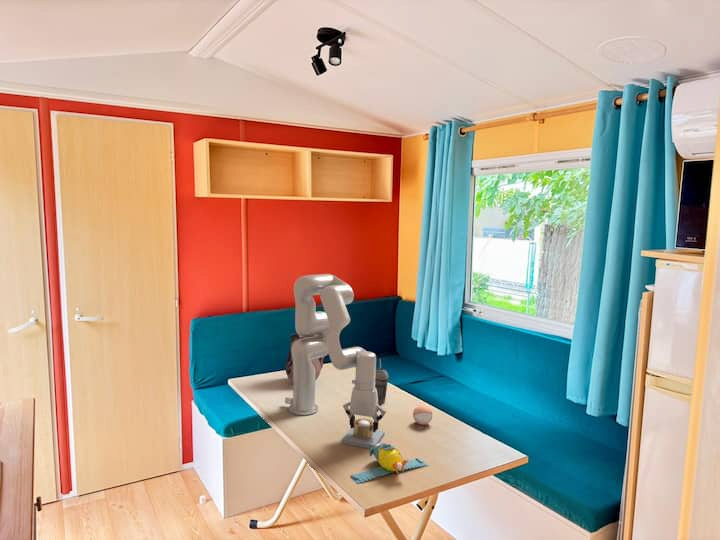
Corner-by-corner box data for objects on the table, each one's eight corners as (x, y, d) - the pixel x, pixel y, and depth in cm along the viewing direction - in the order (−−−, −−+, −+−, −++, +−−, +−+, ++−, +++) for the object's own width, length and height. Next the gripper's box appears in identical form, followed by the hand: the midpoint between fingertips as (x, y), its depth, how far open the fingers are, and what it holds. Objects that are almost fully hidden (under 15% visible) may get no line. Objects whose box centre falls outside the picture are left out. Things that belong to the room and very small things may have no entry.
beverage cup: (376, 406, 224) (378, 362, 222) (369, 400, 230) (370, 358, 228) (390, 403, 227) (392, 361, 225) (382, 398, 234) (384, 356, 231)
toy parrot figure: (363, 464, 155) (341, 444, 168) (362, 490, 155) (341, 469, 169) (436, 446, 168) (410, 430, 181) (435, 471, 169) (409, 453, 182)
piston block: (341, 443, 186) (341, 426, 186) (353, 429, 199) (353, 413, 198) (374, 449, 182) (375, 432, 182) (384, 435, 194) (385, 419, 194)
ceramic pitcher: (283, 377, 258) (284, 330, 256) (324, 375, 263) (325, 329, 261) (287, 389, 241) (288, 338, 239) (330, 387, 247) (331, 337, 244)
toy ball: (415, 428, 202) (416, 409, 201) (410, 420, 210) (411, 402, 209) (434, 427, 203) (435, 408, 202) (428, 419, 211) (429, 401, 210)
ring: (350, 437, 188) (350, 424, 187) (357, 429, 195) (357, 417, 194) (369, 441, 186) (369, 428, 185) (375, 433, 193) (375, 420, 192)
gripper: (340, 384, 187) (338, 429, 189) (384, 391, 182) (382, 437, 184) (347, 378, 194) (345, 421, 196) (390, 384, 189) (388, 428, 191)
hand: (363, 428), depth 190 cm, fingers open, 8 cm apart
